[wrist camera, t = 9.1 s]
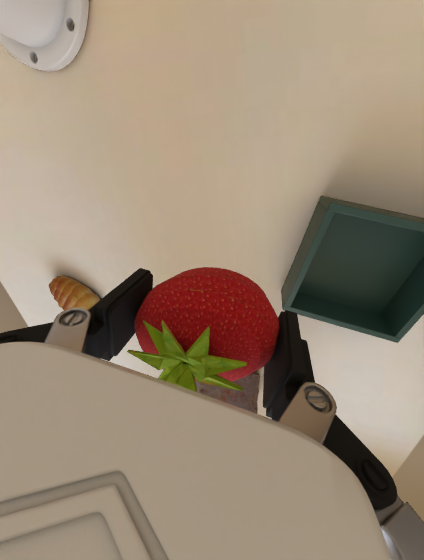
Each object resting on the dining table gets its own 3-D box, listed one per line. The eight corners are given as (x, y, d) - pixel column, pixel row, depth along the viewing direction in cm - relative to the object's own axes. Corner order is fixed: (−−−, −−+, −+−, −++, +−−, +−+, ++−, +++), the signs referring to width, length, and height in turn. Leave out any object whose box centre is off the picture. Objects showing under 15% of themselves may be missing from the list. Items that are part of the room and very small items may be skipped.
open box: (320, 195, 23) (330, 202, 19) (453, 224, 21) (492, 238, 17) (281, 290, 29) (282, 309, 25) (380, 318, 28) (397, 343, 24)
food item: (187, 378, 43) (167, 431, 35) (187, 350, 39) (164, 402, 31) (256, 395, 41) (252, 456, 32) (263, 367, 37) (260, 428, 28)
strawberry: (278, 311, 16) (285, 481, 8) (185, 310, 18) (109, 441, 10) (276, 234, 13) (284, 361, 5) (167, 243, 16) (43, 343, 7)
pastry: (53, 288, 40) (34, 299, 37) (64, 265, 37) (44, 275, 33) (95, 319, 41) (80, 333, 38) (109, 300, 38) (94, 313, 35)
